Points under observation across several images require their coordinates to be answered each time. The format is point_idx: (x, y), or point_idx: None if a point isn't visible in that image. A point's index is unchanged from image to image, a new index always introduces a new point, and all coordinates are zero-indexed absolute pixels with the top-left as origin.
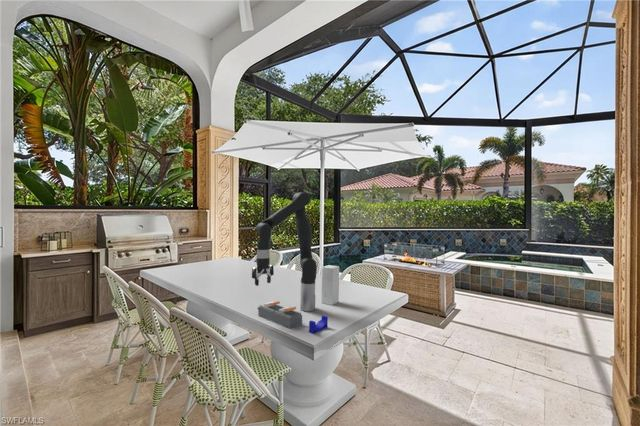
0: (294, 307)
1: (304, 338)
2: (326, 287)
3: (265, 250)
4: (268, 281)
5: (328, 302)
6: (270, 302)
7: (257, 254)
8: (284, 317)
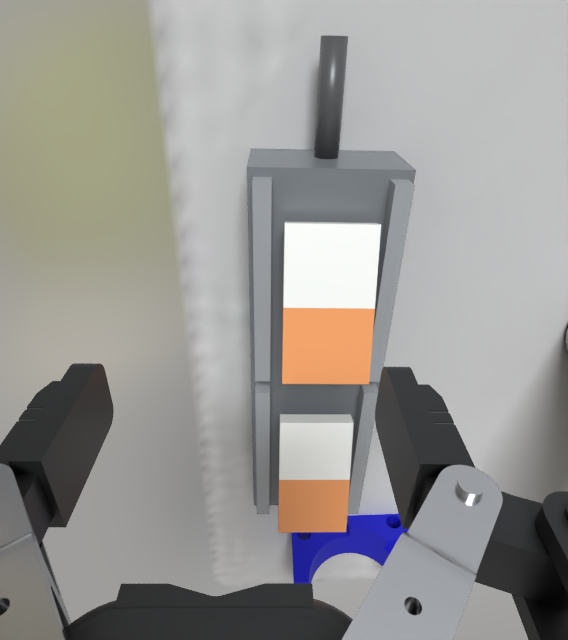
0: (330, 530)
1: (227, 547)
2: None
3: None
4: (382, 420)
5: None
6: (340, 276)
7: None
8: (253, 466)
